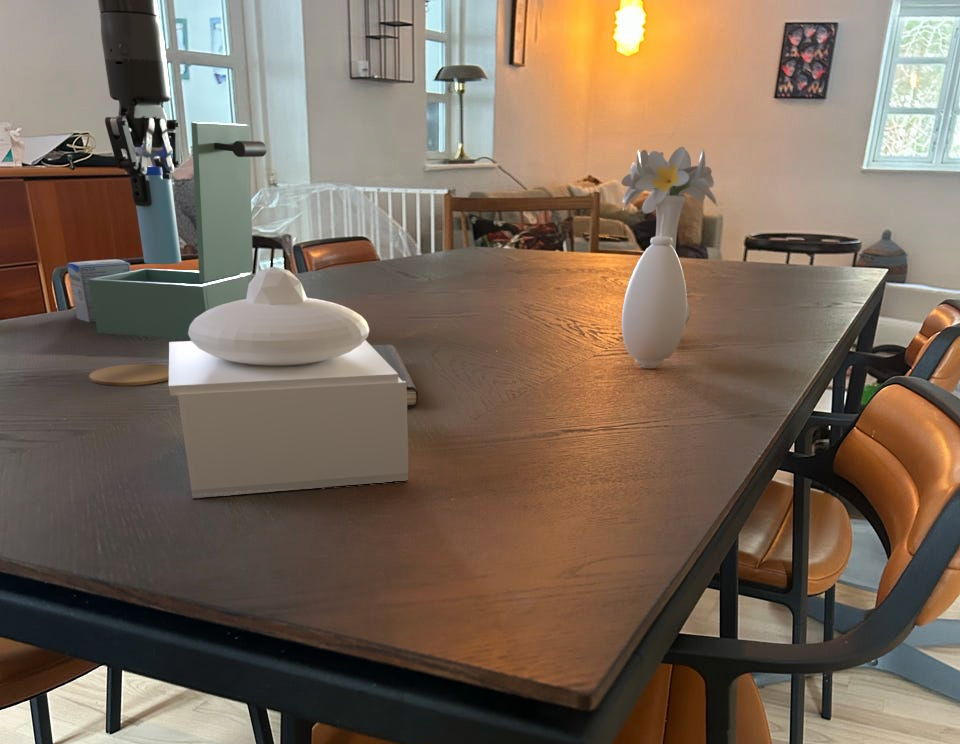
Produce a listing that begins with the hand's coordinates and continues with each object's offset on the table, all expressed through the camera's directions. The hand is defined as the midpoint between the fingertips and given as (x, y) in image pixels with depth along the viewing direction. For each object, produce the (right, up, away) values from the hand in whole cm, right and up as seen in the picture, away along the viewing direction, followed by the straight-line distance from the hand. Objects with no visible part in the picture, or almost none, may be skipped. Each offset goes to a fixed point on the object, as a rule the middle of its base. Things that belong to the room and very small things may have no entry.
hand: (155, 204), depth 125 cm
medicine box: (-13, -11, +15) cm, 23 cm away
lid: (+10, -1, -3) cm, 10 cm away
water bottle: (0, -7, +4) cm, 7 cm away
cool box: (+1, -15, +8) cm, 17 cm away
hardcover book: (+28, -30, -19) cm, 45 cm away
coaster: (+3, -28, -16) cm, 33 cm away
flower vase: (+70, -14, +12) cm, 73 cm away
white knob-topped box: (+28, -44, -43) cm, 67 cm away
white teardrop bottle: (+66, -25, -7) cm, 71 cm away
